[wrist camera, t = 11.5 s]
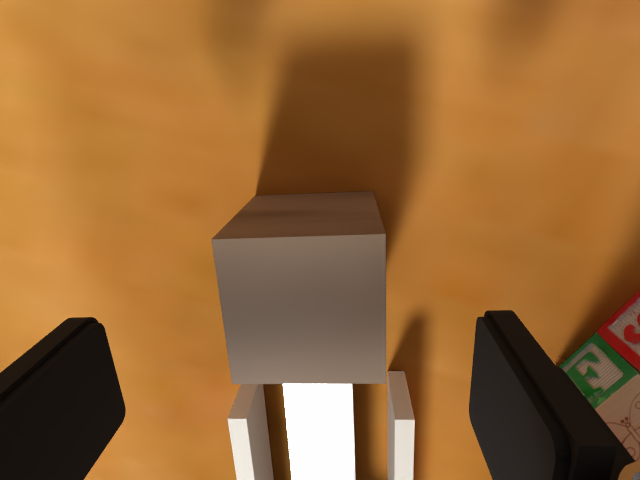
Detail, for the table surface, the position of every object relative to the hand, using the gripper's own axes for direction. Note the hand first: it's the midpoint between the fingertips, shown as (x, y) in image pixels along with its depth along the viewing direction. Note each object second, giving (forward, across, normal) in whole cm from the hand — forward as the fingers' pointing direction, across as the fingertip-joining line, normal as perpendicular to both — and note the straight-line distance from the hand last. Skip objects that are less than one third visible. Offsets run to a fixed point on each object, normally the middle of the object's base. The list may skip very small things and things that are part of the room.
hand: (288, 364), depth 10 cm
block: (+8, 0, 0) cm, 8 cm away
